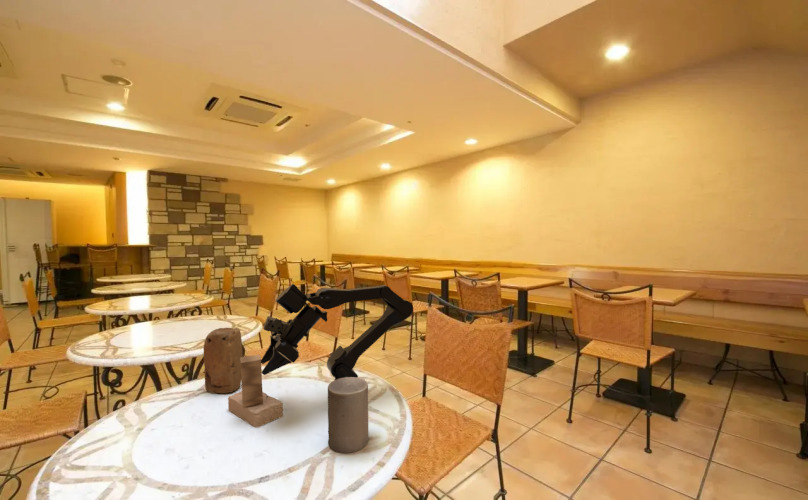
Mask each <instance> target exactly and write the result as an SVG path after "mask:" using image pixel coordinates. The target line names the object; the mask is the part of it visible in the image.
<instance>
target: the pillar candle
mask: <svg viewBox="0 0 808 500" xmlns="http://www.w3.org/2000/svg"><path fill="white" fill-rule="evenodd" d="M327 423H328V426H327V427H328V430H327V434H328V439H327V445H328V447H329V449H331V450H332V451H334V452H336V453H338V454H339V453H340V454H351V453H355V452H358V451H360V450H362V449H364V448H365V447H366V446H367V444H368V443H369V442H368V441H369V383H368V382H367V380H366V379H365V378H361V377H358V378H357V377H345V378H340V379H337V380H335V379H334V380H332V381H331V382H330V383H329V384H328V385H327Z"/></svg>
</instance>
